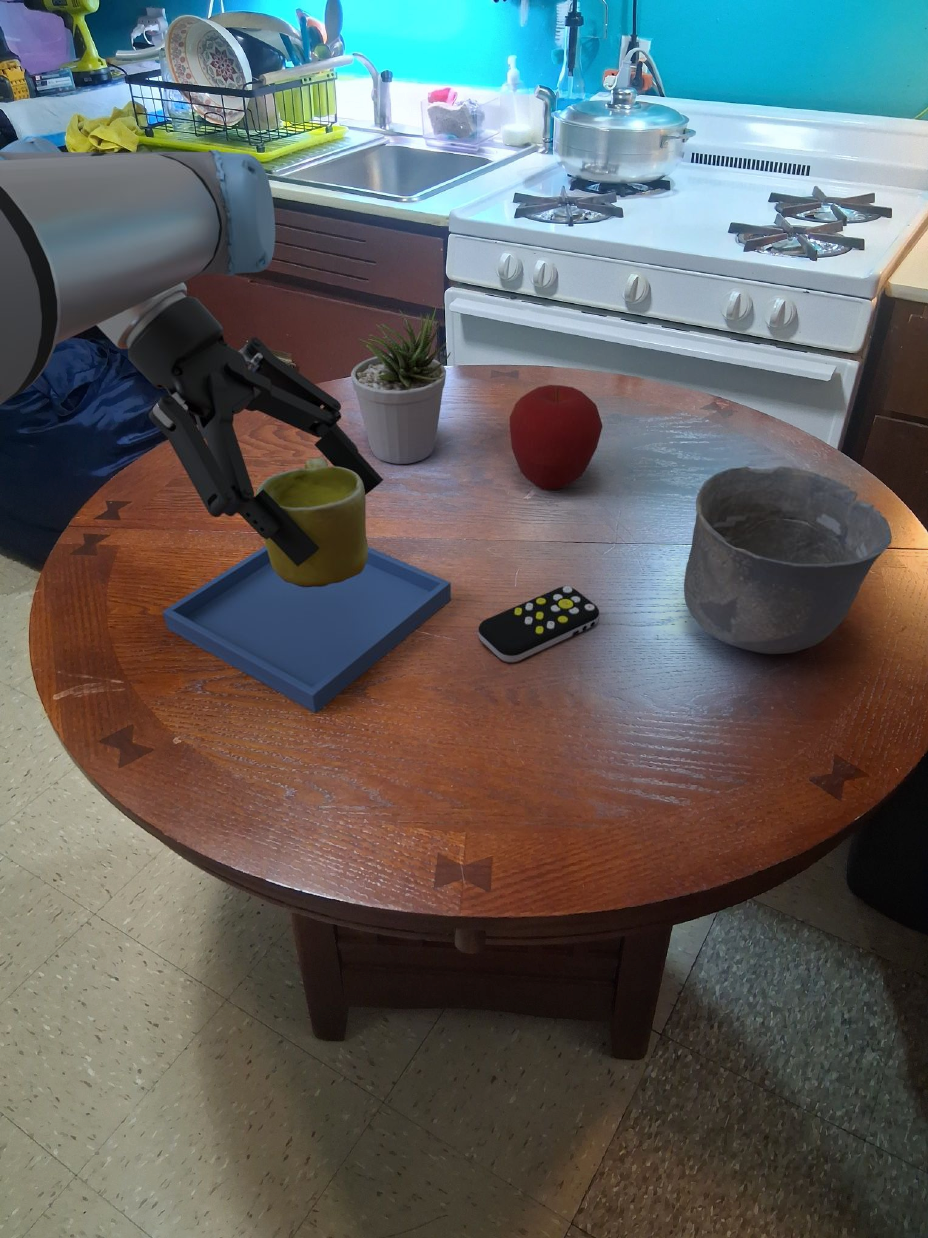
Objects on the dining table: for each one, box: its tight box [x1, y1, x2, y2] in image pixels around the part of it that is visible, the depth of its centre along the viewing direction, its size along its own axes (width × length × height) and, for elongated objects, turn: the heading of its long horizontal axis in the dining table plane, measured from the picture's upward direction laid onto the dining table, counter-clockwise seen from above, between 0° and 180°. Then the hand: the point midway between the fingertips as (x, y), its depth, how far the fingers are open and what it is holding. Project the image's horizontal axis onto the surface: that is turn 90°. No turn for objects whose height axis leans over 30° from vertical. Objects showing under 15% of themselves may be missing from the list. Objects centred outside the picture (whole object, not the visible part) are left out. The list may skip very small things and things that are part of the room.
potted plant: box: [350, 307, 452, 465], centre depth 116 cm, size 13×14×20 cm
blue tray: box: [161, 545, 452, 714], centre depth 94 cm, size 22×22×2 cm
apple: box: [509, 384, 603, 491], centre depth 112 cm, size 12×12×13 cm
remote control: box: [478, 586, 600, 663], centre depth 92 cm, size 6×13×2 cm, turn 124°
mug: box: [255, 457, 369, 587], centre depth 78 cm, size 12×10×10 cm
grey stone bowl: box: [683, 465, 893, 655], centre depth 87 cm, size 18×18×15 cm
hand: (342, 521), depth 77 cm, fingers closed on mug, 11 cm apart
